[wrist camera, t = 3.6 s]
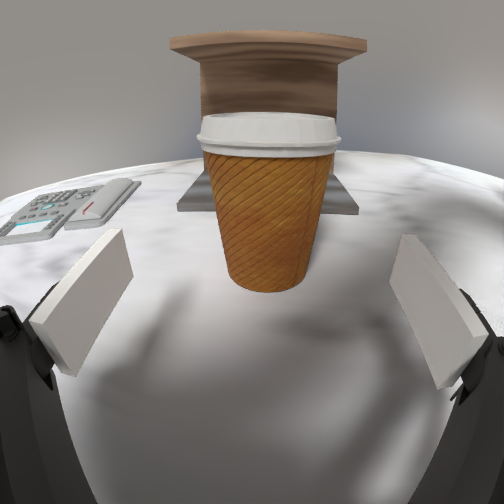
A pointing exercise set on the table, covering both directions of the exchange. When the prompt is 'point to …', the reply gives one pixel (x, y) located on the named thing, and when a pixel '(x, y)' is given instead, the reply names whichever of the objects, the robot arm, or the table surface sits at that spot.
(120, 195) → the office telephone
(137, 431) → the table surface
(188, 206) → the walnut overhang shelf
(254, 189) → the disposable coffee cup
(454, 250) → the table surface
